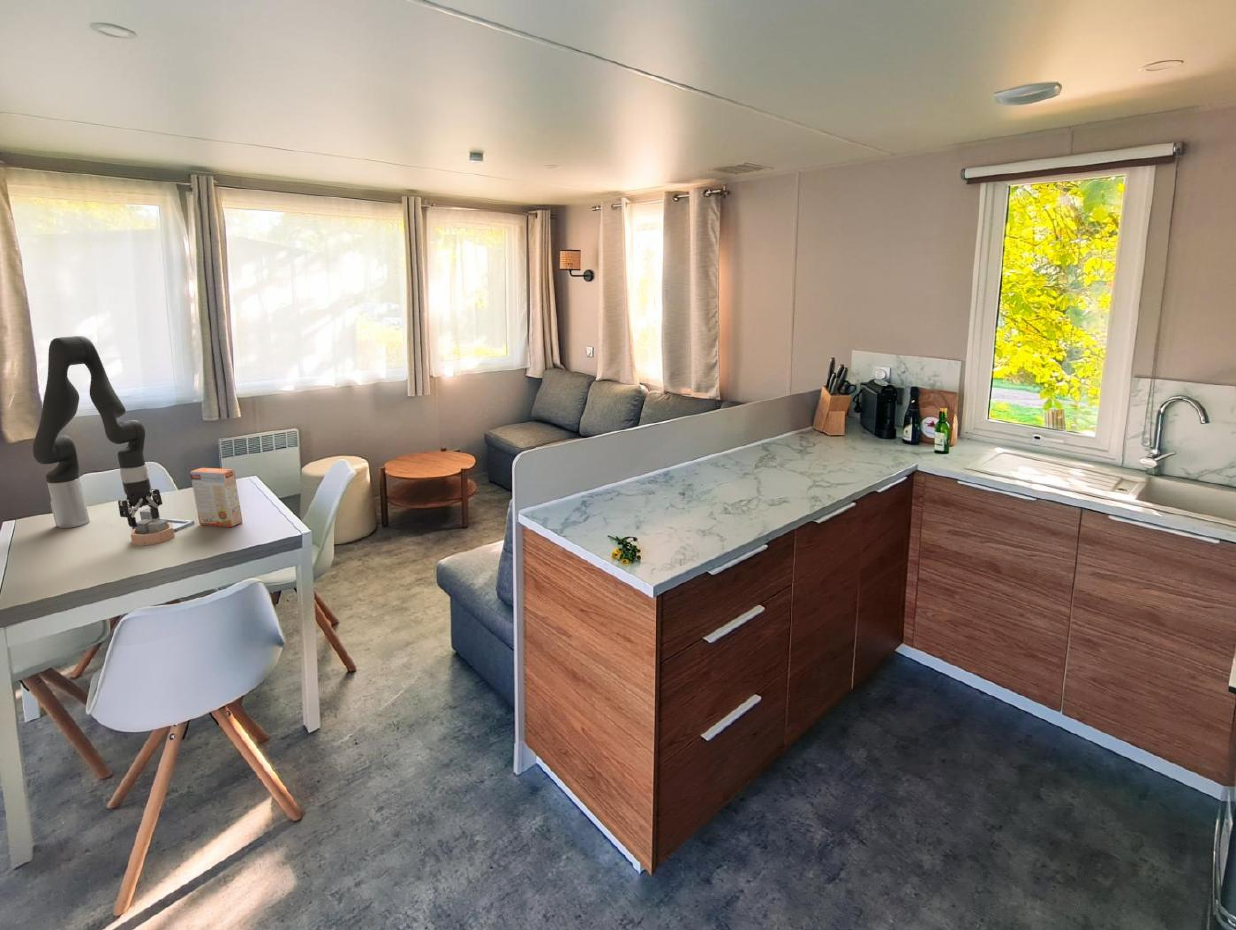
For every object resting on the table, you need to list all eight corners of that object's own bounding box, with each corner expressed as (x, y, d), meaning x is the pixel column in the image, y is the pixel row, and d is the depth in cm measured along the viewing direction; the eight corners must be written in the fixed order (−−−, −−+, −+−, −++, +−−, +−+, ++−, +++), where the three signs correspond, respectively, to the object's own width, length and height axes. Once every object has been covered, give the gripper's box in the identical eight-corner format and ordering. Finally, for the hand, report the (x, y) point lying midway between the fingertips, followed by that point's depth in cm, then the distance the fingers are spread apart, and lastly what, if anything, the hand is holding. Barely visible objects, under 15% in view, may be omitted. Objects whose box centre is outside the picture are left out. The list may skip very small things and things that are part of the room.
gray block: (142, 525, 241) (139, 511, 239) (151, 521, 244) (149, 507, 243) (151, 526, 240) (148, 512, 238) (160, 522, 244) (158, 508, 242)
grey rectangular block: (150, 538, 228) (147, 523, 226) (160, 534, 231) (157, 519, 230) (160, 539, 227) (157, 524, 225) (170, 535, 231) (167, 520, 229)
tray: (132, 528, 239) (131, 525, 238) (153, 519, 247) (153, 517, 247) (173, 532, 235) (173, 529, 235) (194, 523, 244) (193, 520, 243)
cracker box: (243, 522, 245) (234, 468, 239) (231, 528, 239) (222, 473, 234) (211, 519, 248) (202, 466, 242) (198, 525, 242) (188, 471, 236)
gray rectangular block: (137, 537, 228) (134, 523, 227) (147, 533, 232) (144, 519, 231) (147, 538, 228) (144, 523, 226) (157, 534, 231) (154, 519, 230)
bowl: (124, 543, 225) (122, 533, 224) (154, 530, 237) (152, 521, 236) (153, 546, 223) (151, 536, 222) (182, 533, 234) (180, 524, 233)
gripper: (144, 472, 232) (153, 515, 236) (106, 483, 218) (116, 529, 223) (162, 473, 230) (171, 516, 235) (125, 485, 217) (135, 531, 221)
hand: (144, 522), depth 229 cm, fingers open, 8 cm apart
